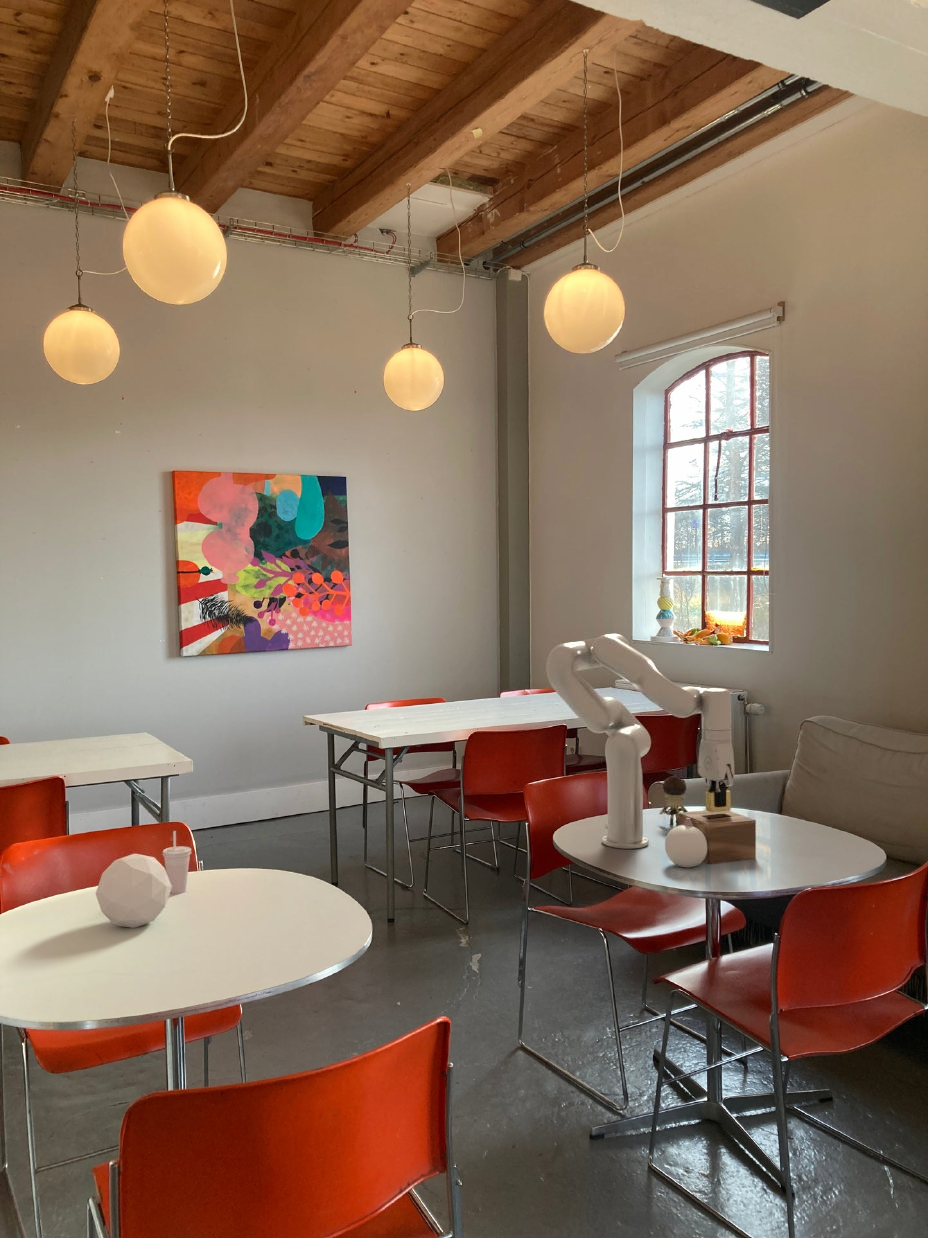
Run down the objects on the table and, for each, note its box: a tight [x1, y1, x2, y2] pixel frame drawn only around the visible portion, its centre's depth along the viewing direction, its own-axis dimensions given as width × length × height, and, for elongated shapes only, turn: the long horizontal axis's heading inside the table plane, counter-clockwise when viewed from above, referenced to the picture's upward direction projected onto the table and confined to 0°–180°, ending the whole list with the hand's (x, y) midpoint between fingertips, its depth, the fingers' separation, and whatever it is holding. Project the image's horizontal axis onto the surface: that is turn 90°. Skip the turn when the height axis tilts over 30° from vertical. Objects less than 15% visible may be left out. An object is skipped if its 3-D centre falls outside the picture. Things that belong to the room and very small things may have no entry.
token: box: [705, 790, 732, 812], centre depth 240 cm, size 2×5×6 cm
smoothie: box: [162, 830, 192, 895], centre depth 211 cm, size 6×6×14 cm
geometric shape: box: [95, 853, 172, 929], centre depth 190 cm, size 14×15×15 cm
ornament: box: [664, 818, 707, 868], centre depth 229 cm, size 10×10×12 cm
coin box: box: [678, 809, 757, 865], centre depth 240 cm, size 14×14×10 cm
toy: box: [659, 775, 689, 827], centre depth 271 cm, size 9×7×15 cm
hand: (717, 805), depth 240 cm, fingers closed on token, 2 cm apart
